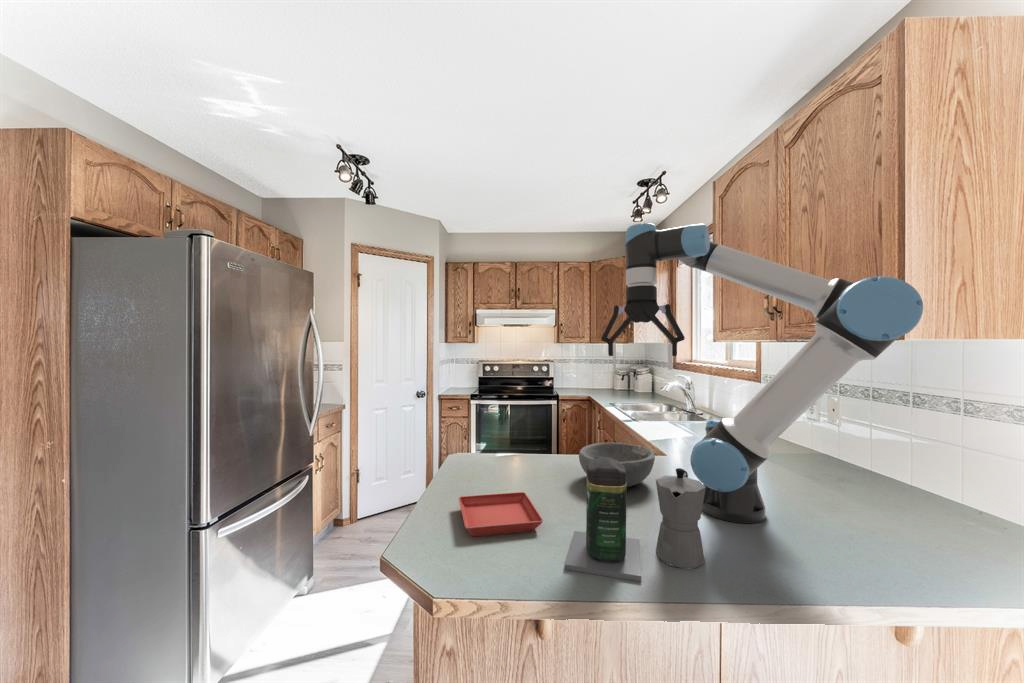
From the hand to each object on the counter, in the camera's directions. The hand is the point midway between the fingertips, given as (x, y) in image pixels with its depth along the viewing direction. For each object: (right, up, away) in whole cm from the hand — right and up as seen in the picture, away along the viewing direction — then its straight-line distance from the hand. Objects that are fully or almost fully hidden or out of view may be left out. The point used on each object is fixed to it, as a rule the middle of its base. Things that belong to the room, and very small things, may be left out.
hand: (641, 369), depth 104 cm
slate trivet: (-15, -37, -21) cm, 45 cm away
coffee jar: (-14, -36, -21) cm, 44 cm away
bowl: (-1, -36, +21) cm, 42 cm away
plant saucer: (-37, -37, -5) cm, 52 cm away
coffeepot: (+1, -37, -21) cm, 42 cm away
